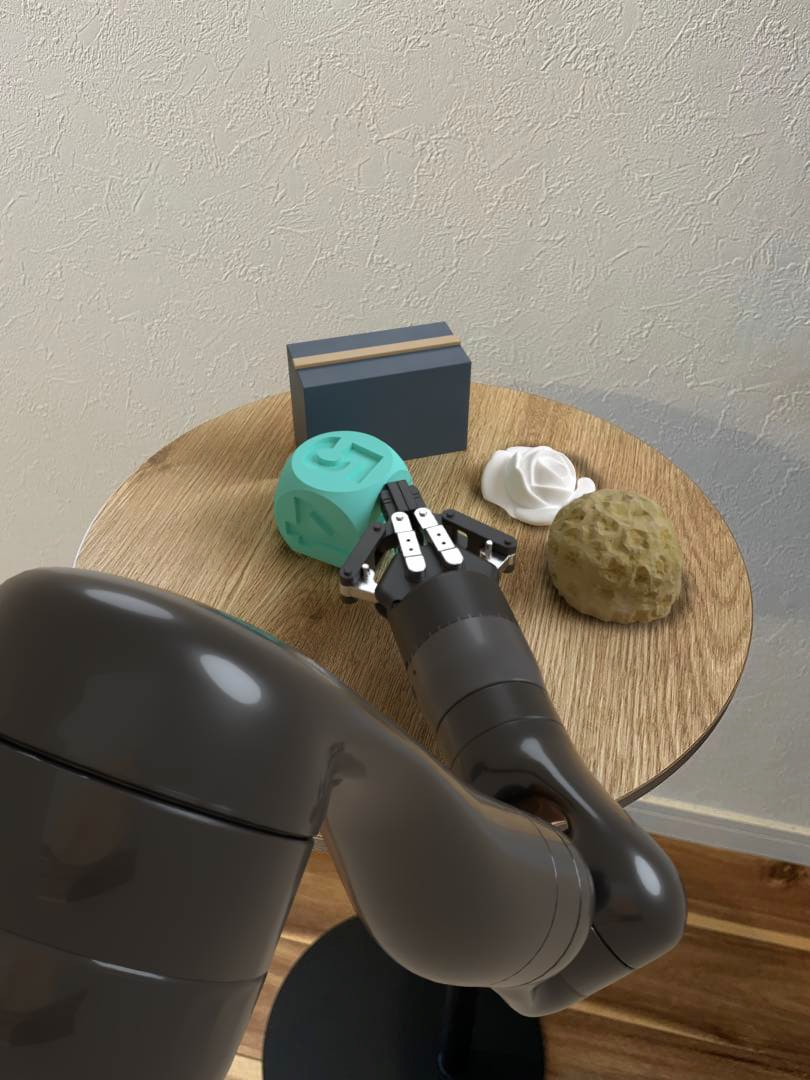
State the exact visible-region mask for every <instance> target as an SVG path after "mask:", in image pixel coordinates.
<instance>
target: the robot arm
mask: <svg viewBox="0 0 810 1080" xmlns="http://www.w3.org/2000/svg"><path fill="white" fill-rule="evenodd" d="M380 497H381V512H382V514H383V517H384V519H385V522H386V523H384V524H383V523H381V522H374V523H371V524H370V525H369V527H368V528H367V530H366V531H365V533H364V534H363V536H362V537H361V539H360V540H359V542H358V543H357V545H356V546H355V548H354V549H353V551H352V552H351V554H350V555H349V557H348V558H347V560H346V561H345V563H344V564H343V566H342V567H341V568H339V570H338V585H339V597H340V601H341V602H342V603H343V604H345V605H354V604H356V603H357V602H358V601H359V600H362V601H366V602H369V603H372V604H374V608H375V610H376V612H377V614H379V616H381V617H382V618H383V619H385V620H386V621H387V622H388V624H389V626H390V630H391V633H392V635H393V638H394V640H395V643H396V646H397V648H398V651H399V654H400V658H401V660H402V662H403V666H404V668H405V670H406V674H407V676H408V680H409V682H410V690H411V692H412V695H413V698H414V700H415V702H416V703H417V704H418V706H419V709H420V712H421V715H422V716H423V718H424V721H425V722H426V724H427V726H428V727H429V729H430V731H431V733H432V734H433V736H434V738H435V742H436V744H437V745H438V748H439V751H440V754H441V756H442V759H443V761H444V763H443V761H442V760H441V759H439V758H438V757H437V756H436V755H435V754H434V753H432V752H431V751H430V750H429V749H428V748H427V747H426V746H425V745H423V744H422V743H421V742H420V741H419V740H417V739H416V738H415V737H414V736H413V735H411V734H410V733H409V732H408V731H406V730H405V729H404V728H402V727H401V726H400V725H399V724H398V723H396V722H394V721H393V720H392V719H391V718H390V717H389V716H387V715H386V714H385V713H383V712H382V711H381V710H379V709H378V708H377V707H376V706H375V705H373V704H372V703H371V702H369V701H368V700H367V699H366V698H364V697H363V696H362V695H361V694H360V693H358V692H357V691H355V690H354V689H353V688H352V687H350V686H349V685H348V684H347V683H345V682H343V680H341V679H340V678H338V677H337V676H336V675H335V674H333V673H332V672H330V671H329V670H328V669H327V668H325V667H324V666H322V665H321V664H320V663H318V662H317V661H315V660H314V659H312V658H310V656H308V655H306V654H304V653H303V652H302V651H300V650H298V649H296V648H295V647H293V646H291V645H289V644H288V643H286V642H284V641H283V640H281V639H279V638H277V637H276V636H274V635H272V634H270V633H268V632H267V631H265V630H263V629H261V628H259V627H257V626H256V625H254V624H252V623H249V622H248V621H245V620H243V619H242V618H239V617H237V616H235V615H232V614H230V613H229V612H226V611H224V610H221V609H218V608H216V607H213V606H212V605H209V604H206V603H204V602H201V601H199V600H196V599H194V598H191V597H189V596H187V595H183V594H181V593H178V592H175V591H172V590H171V589H168V588H167V589H166V588H163V587H161V586H158V585H153V584H150V583H147V582H144V581H140V580H137V579H134V578H129V577H126V576H122V575H119V574H116V573H115V574H114V573H109V572H104V571H100V570H94V569H89V568H80V567H79V568H78V567H69V566H68V567H66V566H40V567H36V568H32V569H31V568H30V569H27V570H24V571H22V572H19V573H17V574H15V575H13V576H11V577H9V578H6V579H5V580H4V581H3V582H2V583H1V584H0V1080H225V1079H226V1077H227V1075H228V1073H229V1071H230V1069H231V1067H232V1065H233V1063H234V1060H235V1057H236V1055H237V1053H238V1051H239V1048H240V1044H242V1040H243V1038H244V1036H245V1032H246V1030H247V1027H248V1025H249V1024H250V1023H249V1022H250V1020H251V1017H252V1015H253V1012H254V1010H255V1007H256V1005H257V1003H258V1000H259V997H260V995H261V993H262V990H263V988H264V985H265V983H266V980H267V977H268V973H269V969H270V967H271V964H272V961H273V958H274V956H275V952H276V950H277V947H278V943H279V942H280V939H281V936H282V933H283V931H284V929H285V925H286V923H287V920H288V918H289V915H290V912H291V909H292V907H293V904H294V901H295V898H296V895H297V892H298V890H299V887H300V885H301V882H302V879H303V876H304V874H305V870H306V868H307V865H308V862H309V860H310V857H311V855H312V852H313V849H314V847H315V837H317V836H318V835H320V836H321V838H322V840H323V842H324V844H325V846H326V849H327V852H328V854H329V856H330V859H331V860H332V861H331V862H332V864H333V866H334V868H335V870H336V873H337V875H338V878H339V880H340V883H341V884H342V886H343V888H344V890H345V893H346V895H347V897H348V900H349V902H350V904H351V907H352V910H353V911H354V913H355V914H356V916H357V918H358V920H359V921H360V922H361V924H362V925H363V928H364V929H365V930H366V932H367V933H368V935H369V936H370V937H371V939H373V941H374V943H375V944H376V945H377V946H378V947H379V948H380V949H381V950H382V951H383V952H384V953H385V954H386V955H387V956H388V957H389V958H390V959H392V960H393V961H394V962H395V963H396V964H398V965H400V966H401V967H402V968H404V969H405V970H407V971H409V972H410V973H412V974H414V975H416V976H418V977H420V978H422V979H425V980H428V981H431V982H434V983H438V984H442V985H446V986H456V987H469V988H473V987H474V988H490V989H491V990H492V991H494V992H495V993H496V994H498V995H499V996H500V998H501V999H502V1000H503V1001H504V1002H505V1003H506V1004H507V1005H508V1006H509V1007H510V1008H511V1009H513V1011H515V1012H517V1014H520V1015H521V1016H524V1017H528V1018H538V1017H544V1016H548V1015H552V1014H556V1013H558V1012H562V1011H563V1010H565V1009H568V1008H570V1007H572V1006H574V1005H576V1004H578V1003H580V1002H581V1001H583V1000H585V999H587V998H588V997H590V996H592V995H593V994H596V993H597V992H599V991H600V990H602V989H605V988H606V987H609V985H612V984H614V983H615V982H618V981H619V980H621V979H622V978H625V977H626V976H628V975H630V974H632V973H634V972H636V971H637V970H639V969H641V968H643V967H646V966H647V965H648V964H650V963H652V962H654V961H656V960H657V959H659V958H660V957H662V956H664V955H666V954H668V953H669V952H670V951H672V949H674V948H675V947H676V946H678V944H679V942H680V941H681V940H682V939H683V936H684V934H685V931H686V929H687V925H688V919H689V918H688V917H689V904H688V903H689V902H688V896H687V891H686V886H685V884H684V880H683V878H682V876H681V874H680V871H678V869H677V867H676V865H675V864H674V862H673V860H672V859H671V858H670V856H669V855H668V854H667V852H665V851H664V850H663V848H662V847H661V846H660V845H659V844H658V842H657V841H656V840H655V839H654V838H653V837H652V836H651V835H650V834H649V833H648V831H646V830H645V828H643V827H642V826H641V824H639V823H638V822H637V820H635V819H634V818H633V816H631V815H630V814H629V813H628V811H626V810H625V809H624V808H623V806H622V805H620V804H619V802H618V801H617V800H616V799H615V798H614V797H613V796H612V795H611V794H610V793H609V791H608V790H607V789H606V787H604V786H603V784H602V783H601V782H600V781H599V779H598V778H597V777H596V775H595V774H594V773H593V772H592V771H591V769H590V768H589V766H588V765H587V763H586V762H585V760H584V759H583V757H582V755H581V754H580V752H579V751H578V749H577V747H576V746H575V744H574V743H573V740H572V738H571V737H570V735H569V732H568V730H567V728H566V726H565V725H564V723H563V720H562V718H561V716H560V714H559V712H558V710H557V708H556V707H555V704H554V703H553V702H554V701H553V700H552V698H551V696H550V693H549V692H548V691H549V690H547V687H546V683H545V680H544V677H543V674H542V670H541V667H540V664H539V663H538V660H537V658H536V656H535V654H534V652H533V650H532V648H531V646H530V644H529V642H528V640H527V638H526V636H525V634H524V632H523V630H522V628H521V626H520V624H519V622H518V620H517V618H516V616H515V615H514V614H515V613H514V612H513V609H512V608H511V606H510V604H509V602H508V600H507V598H506V596H505V594H504V592H503V590H502V588H501V586H500V579H501V575H502V574H510V573H513V572H514V571H515V568H516V559H517V548H518V539H517V538H515V537H514V536H513V535H510V534H508V533H506V532H503V531H501V530H499V529H497V528H495V527H493V526H491V525H488V524H486V523H484V522H482V521H479V520H477V519H475V518H473V517H471V516H469V515H466V514H465V513H462V512H460V511H458V510H456V509H453V508H447V509H444V510H443V511H442V512H441V513H435V512H432V510H431V509H430V508H428V507H427V504H426V503H425V501H424V498H423V497H422V494H421V492H420V490H419V488H418V487H417V486H415V484H413V485H410V486H409V485H408V483H407V481H406V480H399V481H394V482H388V483H386V490H381V495H380ZM462 533H463V534H462ZM464 534H465V535H464ZM390 550H393V556H392V557H391V559H390V561H389V563H388V564H387V566H386V568H385V570H384V572H383V573H382V575H381V577H380V578H379V581H378V583H377V582H376V572H377V571H378V569H379V567H380V565H381V564H382V563H383V561H384V559H385V557H387V552H389V551H390ZM558 822H565V823H566V828H565V829H564V830H563V831H562V830H561V829H560V828H558V827H557V826H556V825H554V824H553V823H558Z"/></svg>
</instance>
